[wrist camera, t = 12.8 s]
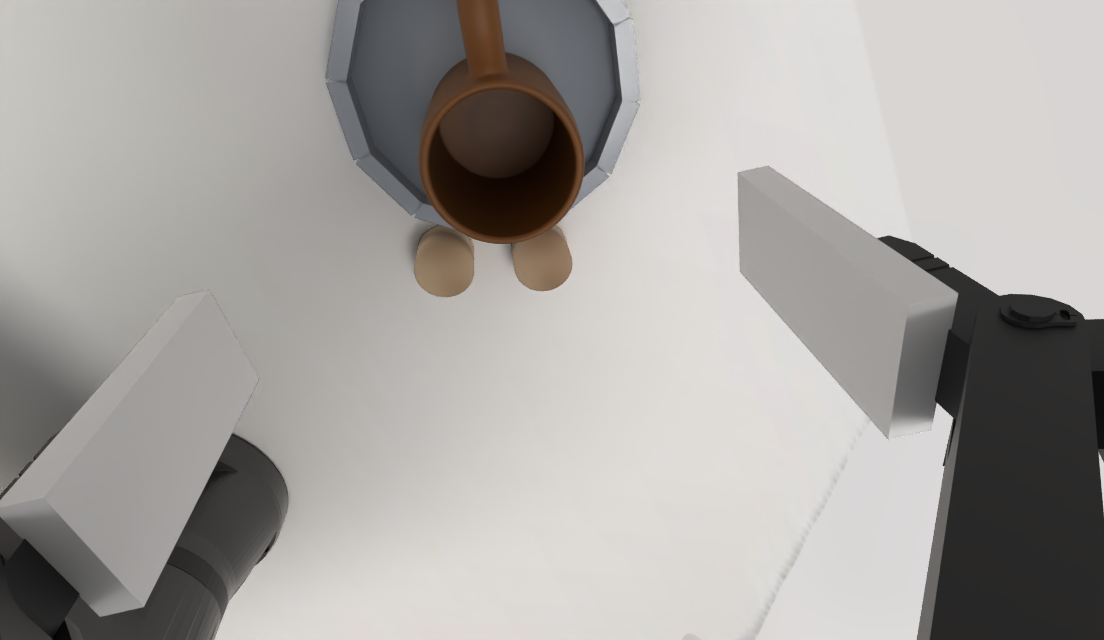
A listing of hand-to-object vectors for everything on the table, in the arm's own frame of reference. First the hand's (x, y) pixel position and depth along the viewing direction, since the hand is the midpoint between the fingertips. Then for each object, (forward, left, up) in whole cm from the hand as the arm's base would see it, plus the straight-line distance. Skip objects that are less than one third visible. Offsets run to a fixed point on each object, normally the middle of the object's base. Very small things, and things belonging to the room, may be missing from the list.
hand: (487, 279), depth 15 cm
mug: (+1, +1, -22) cm, 22 cm away
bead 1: (-4, -9, -23) cm, 25 cm away
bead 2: (+2, -10, -23) cm, 25 cm away
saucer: (+1, +1, -23) cm, 23 cm away
